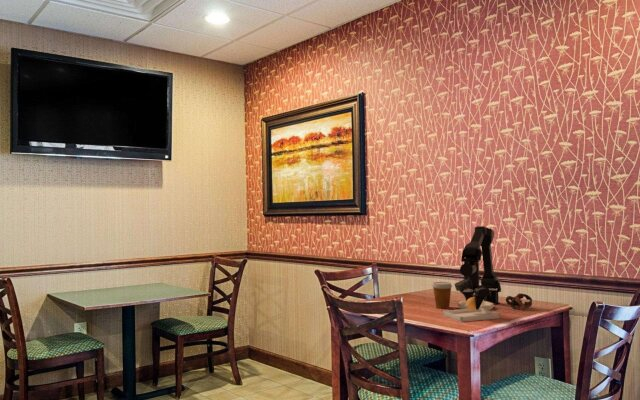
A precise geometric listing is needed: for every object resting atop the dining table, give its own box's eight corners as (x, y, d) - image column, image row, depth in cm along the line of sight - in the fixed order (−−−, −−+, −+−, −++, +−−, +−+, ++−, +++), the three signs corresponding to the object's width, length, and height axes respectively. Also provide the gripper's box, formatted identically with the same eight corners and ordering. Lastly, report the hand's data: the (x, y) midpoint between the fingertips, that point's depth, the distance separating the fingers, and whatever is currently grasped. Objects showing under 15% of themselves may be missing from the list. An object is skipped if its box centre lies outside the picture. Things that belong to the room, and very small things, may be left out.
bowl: (480, 304, 275) (480, 299, 275) (499, 309, 260) (499, 304, 260) (452, 306, 270) (452, 301, 270) (470, 311, 255) (470, 307, 255)
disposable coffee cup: (452, 309, 262) (452, 284, 262) (432, 309, 264) (432, 284, 264) (452, 305, 271) (451, 281, 271) (432, 305, 273) (432, 281, 273)
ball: (475, 308, 250) (475, 295, 250) (483, 311, 244) (482, 297, 244) (463, 309, 248) (463, 296, 248) (471, 312, 242) (471, 298, 242)
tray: (480, 312, 254) (480, 307, 254) (500, 318, 239) (500, 313, 239) (442, 315, 248) (442, 311, 248) (460, 321, 233) (460, 317, 233)
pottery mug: (527, 307, 265) (533, 294, 261) (529, 319, 257) (534, 306, 253) (502, 301, 267) (507, 287, 263) (503, 313, 259) (508, 299, 255)
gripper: (446, 272, 253) (446, 306, 253) (468, 277, 235) (469, 313, 235) (467, 271, 256) (467, 304, 256) (490, 275, 238) (491, 311, 238)
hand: (473, 308), depth 246 cm, fingers closed on ball, 6 cm apart
